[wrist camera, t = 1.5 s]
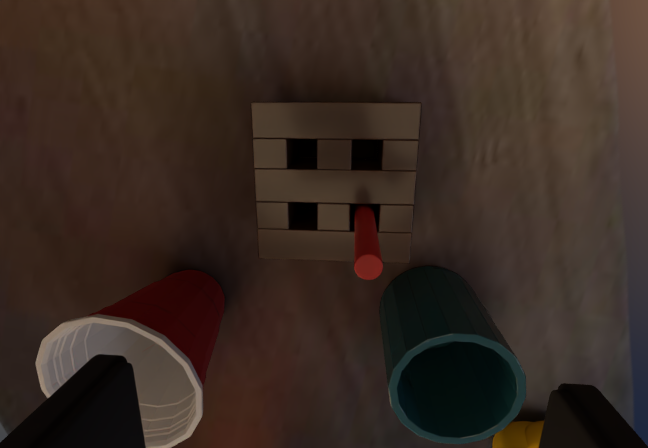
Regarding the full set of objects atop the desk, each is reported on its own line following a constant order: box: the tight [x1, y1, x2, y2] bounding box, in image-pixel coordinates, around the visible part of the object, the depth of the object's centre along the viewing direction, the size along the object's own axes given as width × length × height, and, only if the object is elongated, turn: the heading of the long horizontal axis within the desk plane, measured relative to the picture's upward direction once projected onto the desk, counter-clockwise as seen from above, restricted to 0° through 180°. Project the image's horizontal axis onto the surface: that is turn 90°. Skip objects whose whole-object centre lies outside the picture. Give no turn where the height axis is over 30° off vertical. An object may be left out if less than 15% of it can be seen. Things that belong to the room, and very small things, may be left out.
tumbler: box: [379, 266, 526, 444], centre depth 28 cm, size 8×8×10 cm
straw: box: [354, 204, 383, 280], centre depth 24 cm, size 1×1×14 cm
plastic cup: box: [35, 269, 225, 448], centre depth 29 cm, size 11×11×12 cm
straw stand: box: [251, 102, 422, 264], centre depth 27 cm, size 10×10×6 cm
